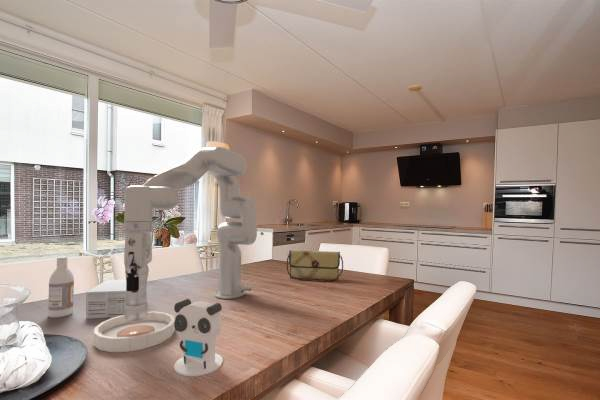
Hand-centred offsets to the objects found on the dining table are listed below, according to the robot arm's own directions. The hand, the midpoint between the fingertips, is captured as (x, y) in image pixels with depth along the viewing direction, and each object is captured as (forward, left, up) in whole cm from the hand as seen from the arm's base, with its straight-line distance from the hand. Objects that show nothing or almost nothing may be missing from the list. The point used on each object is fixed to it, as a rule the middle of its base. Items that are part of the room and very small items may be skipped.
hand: (137, 287), depth 94 cm
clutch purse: (-66, -64, -15) cm, 93 cm away
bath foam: (+32, -21, -15) cm, 41 cm away
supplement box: (+16, -25, -15) cm, 33 cm away
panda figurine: (-21, +19, -15) cm, 32 cm away
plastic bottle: (0, 0, -10) cm, 10 cm away
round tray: (0, 0, -14) cm, 14 cm away
